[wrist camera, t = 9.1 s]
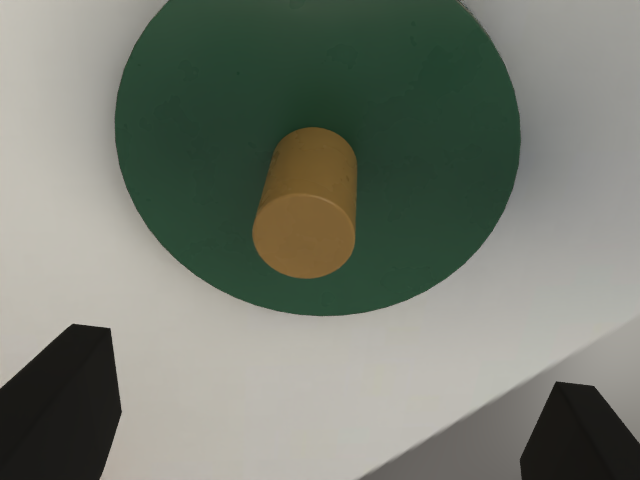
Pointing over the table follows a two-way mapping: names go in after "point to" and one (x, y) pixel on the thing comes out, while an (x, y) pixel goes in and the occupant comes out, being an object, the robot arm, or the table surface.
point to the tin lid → (318, 146)
